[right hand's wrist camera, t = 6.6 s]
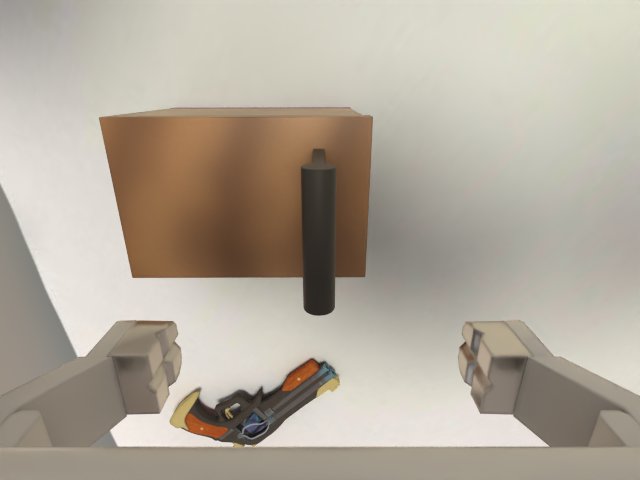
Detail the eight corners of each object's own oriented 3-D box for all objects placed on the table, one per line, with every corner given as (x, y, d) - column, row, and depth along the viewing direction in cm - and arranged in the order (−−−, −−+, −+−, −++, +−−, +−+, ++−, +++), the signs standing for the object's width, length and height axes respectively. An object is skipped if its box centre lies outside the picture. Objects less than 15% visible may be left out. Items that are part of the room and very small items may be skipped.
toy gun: (160, 424, 43) (221, 479, 45) (282, 326, 40) (343, 389, 41) (170, 408, 46) (227, 460, 47) (285, 315, 42) (342, 375, 44)
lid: (370, 115, 23) (396, 128, 15) (363, 269, 27) (381, 343, 19) (109, 115, 23) (-1, 129, 15) (140, 269, 27) (65, 345, 19)
